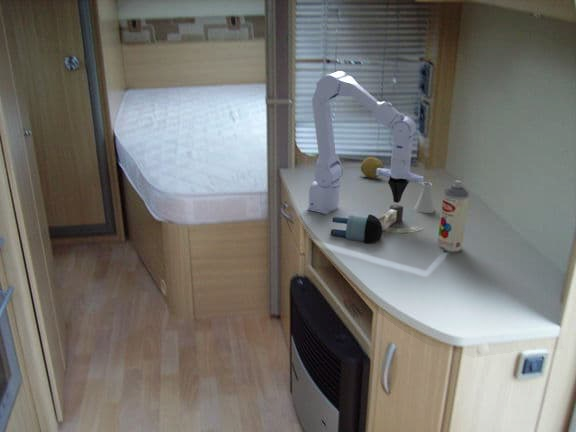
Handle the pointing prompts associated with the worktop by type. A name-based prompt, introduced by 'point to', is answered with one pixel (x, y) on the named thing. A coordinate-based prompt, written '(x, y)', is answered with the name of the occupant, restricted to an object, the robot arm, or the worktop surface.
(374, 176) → the potato
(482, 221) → the worktop surface
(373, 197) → the worktop surface
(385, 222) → the peg
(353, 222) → the toy
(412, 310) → the worktop surface
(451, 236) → the aerosol can
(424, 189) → the flask
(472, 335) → the worktop surface
